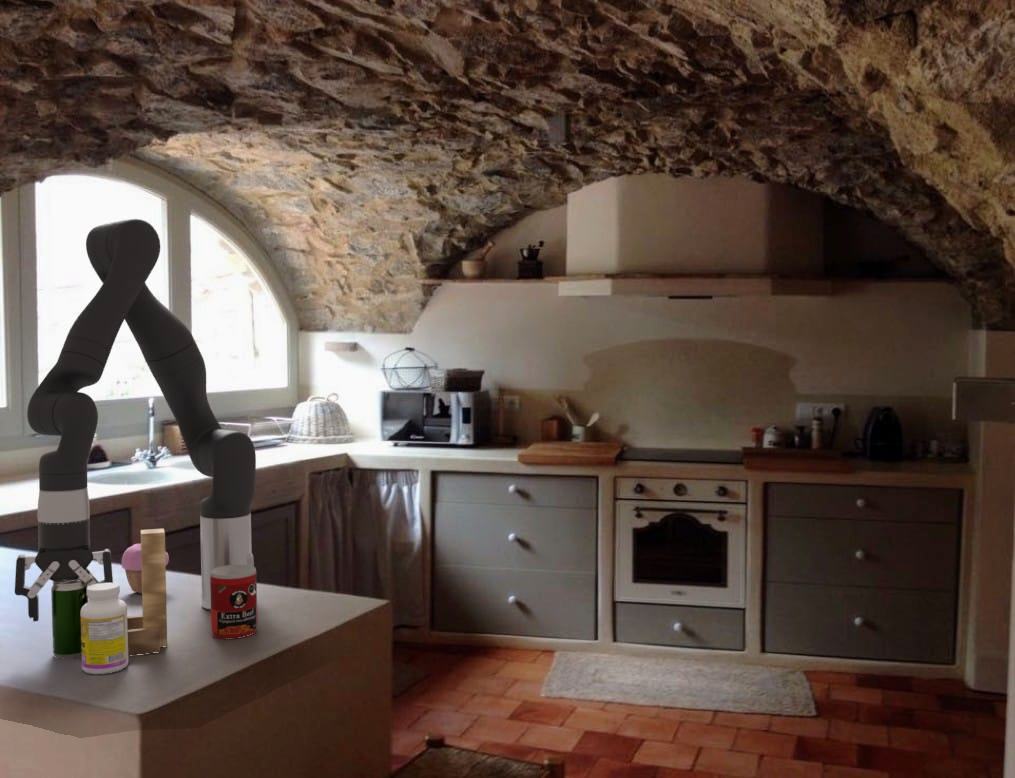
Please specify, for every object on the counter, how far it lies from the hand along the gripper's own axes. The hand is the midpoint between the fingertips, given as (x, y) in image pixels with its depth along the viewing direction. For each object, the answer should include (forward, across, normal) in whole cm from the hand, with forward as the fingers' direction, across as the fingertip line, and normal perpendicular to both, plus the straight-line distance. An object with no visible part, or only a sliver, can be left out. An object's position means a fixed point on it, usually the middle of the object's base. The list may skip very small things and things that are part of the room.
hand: (65, 617), depth 159 cm
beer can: (+6, -1, 0) cm, 6 cm away
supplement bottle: (+6, -6, +9) cm, 13 cm away
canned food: (+6, -26, -2) cm, 27 cm away
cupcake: (+6, -13, -37) cm, 40 cm away
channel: (+6, -9, 0) cm, 11 cm away
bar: (+6, -14, 0) cm, 15 cm away
